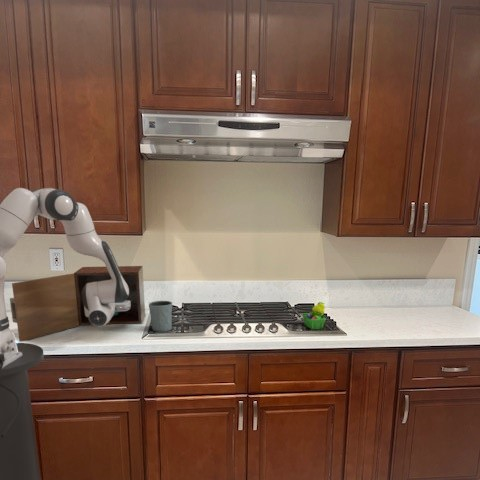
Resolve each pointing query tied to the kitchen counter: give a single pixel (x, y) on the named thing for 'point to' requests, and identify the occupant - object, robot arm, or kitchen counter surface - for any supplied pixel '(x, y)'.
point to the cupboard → (136, 296)
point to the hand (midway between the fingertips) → (110, 302)
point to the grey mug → (161, 315)
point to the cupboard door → (44, 306)
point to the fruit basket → (315, 317)
